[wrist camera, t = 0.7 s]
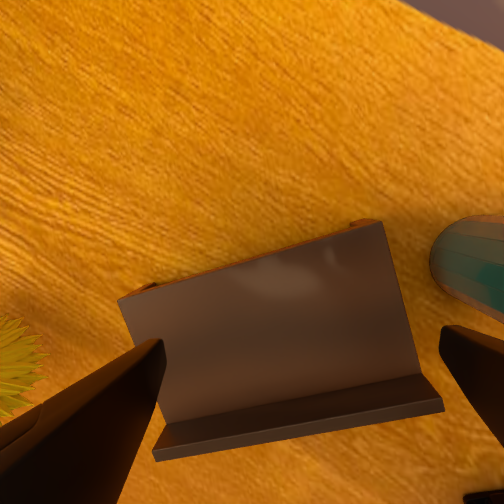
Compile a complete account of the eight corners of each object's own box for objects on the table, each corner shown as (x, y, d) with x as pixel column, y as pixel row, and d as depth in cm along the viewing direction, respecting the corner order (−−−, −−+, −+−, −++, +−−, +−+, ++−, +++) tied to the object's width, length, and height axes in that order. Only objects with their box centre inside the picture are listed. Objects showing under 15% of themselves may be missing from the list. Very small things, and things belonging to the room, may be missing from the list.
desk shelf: (401, 354, 23) (445, 411, 16) (187, 400, 26) (155, 462, 20) (364, 218, 21) (398, 223, 15) (143, 285, 25) (93, 313, 18)
